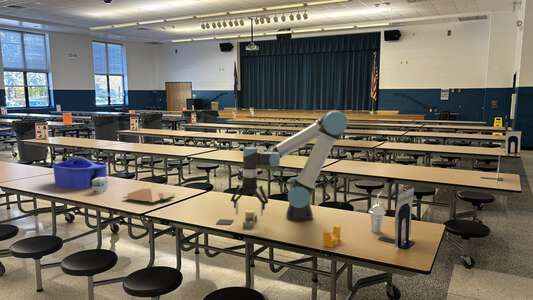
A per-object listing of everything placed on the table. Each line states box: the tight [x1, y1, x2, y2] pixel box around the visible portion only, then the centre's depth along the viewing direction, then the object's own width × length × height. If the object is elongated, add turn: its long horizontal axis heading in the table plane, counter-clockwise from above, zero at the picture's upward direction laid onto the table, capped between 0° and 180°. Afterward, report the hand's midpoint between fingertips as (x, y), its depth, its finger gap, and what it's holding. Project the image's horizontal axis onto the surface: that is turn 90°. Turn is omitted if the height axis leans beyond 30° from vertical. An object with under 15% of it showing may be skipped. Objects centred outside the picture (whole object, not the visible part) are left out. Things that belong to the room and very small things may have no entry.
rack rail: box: [242, 213, 258, 229], centre depth 202 cm, size 5×16×4 cm, turn 172°
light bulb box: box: [91, 176, 109, 195], centre depth 270 cm, size 11×7×11 cm, turn 179°
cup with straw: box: [368, 190, 387, 234], centre depth 190 cm, size 8×9×20 cm
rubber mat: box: [215, 218, 234, 226], centre depth 205 cm, size 8×8×1 cm
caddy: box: [51, 155, 108, 190], centre depth 294 cm, size 32×45×23 cm
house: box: [122, 188, 176, 206], centre depth 251 cm, size 23×33×8 cm
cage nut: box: [244, 209, 256, 224], centre depth 202 cm, size 4×6×7 cm
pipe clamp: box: [322, 224, 341, 248], centre depth 175 cm, size 12×4×6 cm, turn 142°
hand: (249, 214), depth 202 cm, fingers open, 13 cm apart
